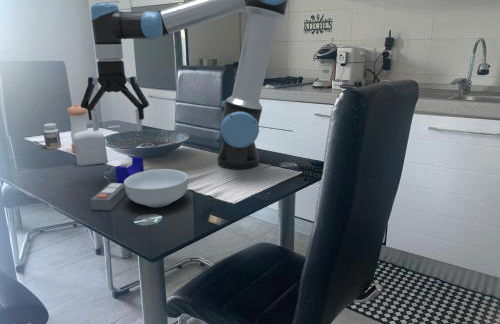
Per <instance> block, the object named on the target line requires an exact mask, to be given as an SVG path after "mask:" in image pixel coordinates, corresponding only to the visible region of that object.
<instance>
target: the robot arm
mask: <svg viewBox="0 0 500 324" xmlns="http://www.w3.org/2000/svg"><path fill="white" fill-rule="evenodd" d="M288 2H289V0H189V1H185V2H183V3H180V4H177V5H173V6H169V7H167V8H164V9H161V10H158V11H150V10H147V11H146V10H145V11H121V10H119V7H118V5H117V4H115V3H93V4H92V5H91V7H90V14H91V15H90V16H91V20H90V21H91V26H92V33H93V40H94V49H95V50H94V51H95V58H96V60H98V61H97V62H96V67H97V74H98V76H97V77H95V76H90V77H88V78H87V87H86V89H85V92H84V95H83V98H82V100H81V104H80V106H81V108H85V109H86V111H87V115H88V120H89V121H91V122H92V123H91V124H92V130H93V131H100V127H99V124H100V123H99V118H98V110H97V108H95V107H96V106H97V104H98V103H99V102H100V101H101V98H102V97H103V96H104V94H105V93H106V92H107V93H112V92H114V93H119V92H120V93H121V94H123V95H124V96H125V97H126V98H127V99H128V100H129V101H130V103H132V105H133V106H134V107H136V109H135V110H134V111H135V121H136V130H137V132H140V131H142V130H143V125H142V121H143V120H144V119H145V113H144V112H145V111H144V109H146V108H147V107H150V104H149V101H148V100H147V98H146V96H145V94H144V93H143V91H142V90H141V88H140V86H139V84H138V80H137V78H136V76H134V75H133V76H130V77H126V72H125V63H124V61H123V58H124V54H123V43H122V40H149V41H154V40H159V39H161V38H162V37H165V36H168V35H170V34H173V33H176V32H180V31H183V30H186V29H189V28H192V27H196V26H199V25H202V24H205V23H208V22H212V21H214V20H218V19H221V18H224V17H229V16H230V15H234V14H238V13H240V12H243V13H245V14H248V18H247V22H246V28H245V31H244V37H243V41H242V45H241V52H240V56H239V61H238V66H237V70H236V76H235V79H234V84H233V89H232V94H231V95H230V96H229V97H227V98H226V99H225V100H222V101H221V103H220V110H221V111H220V113H221V114H220V115H221V118H220V119H221V121H220V126H219V130H220V131H219V132H220V136H221V145H220V148H219V152H218V156H217V165H218V166H219V167H221V168H225V169H230V170H245V169H252V168H255V167H256V166H258V165H260V155H259V152H258V150H257V146H256V143H255V141H256V140H257V138H258V136H259V135H260V134H259V133H260V119H261V116H262V112H263V111H262V110H263V106H262V104H261V102H260V98H261V94H262V89H263V85H264V81H265V77H266V72H267V68H268V64H269V59H270V54H271V51H272V47H273V42H274V38H275V34H276V29H277V25H278V22H279V21H280V20H282V19H283V18H284V17H285V14H286V10H287V6H288ZM127 83H128V84H129V85H130V86H131V88H132V90H133V92H134V93H135V94H136V96H137V97H136V96H135V95H134V94H133V93H132V92H131V91H130V90H129V88H128V87H127V86H126V84H127ZM97 84H99V85H100V87H99V89H98V90H97V92H96V93H95V95H94V97H93V98H92V99H91V97H92V95H93V92H94V89H95V86H96V85H97ZM90 100H91V101H90Z"/></svg>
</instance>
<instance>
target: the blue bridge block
mask: <svg viewBox="0 0 500 324" xmlns="http://www.w3.org/2000/svg"><path fill="white" fill-rule="evenodd" d="M131 160H132V162H131V164H130V165H129V166H121V165H119V166H115V167H114V168H115V176H116V183H124V181H125V179H126V178H128V177H129V176H131V175H133V174H136V173H139V172H143V171H145V166H144V157H143V156H133V157H132V159H131Z"/></svg>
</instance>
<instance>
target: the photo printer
mask: <svg viewBox="0 0 500 324" xmlns="http://www.w3.org/2000/svg"><path fill="white" fill-rule="evenodd" d="M74 145H75V151H76V153H75V157H76V163H77V166H78V167H83V166H91V165H93V166H94V165H99V164H102V165H103V164H107V163H108V162H109V161H108V153H107V147H106V146H107V145H106V140H105V135H104V134H103V131H101V130H97V131H93V129H92V130H91V129H88V130H86V131H81V132H78V133H76V134H75V135H74Z"/></svg>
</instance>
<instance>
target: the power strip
mask: <svg viewBox="0 0 500 324" xmlns="http://www.w3.org/2000/svg"><path fill="white" fill-rule="evenodd" d="M126 196H127V194H126V191H125V187H124V183H117V182H116V183H115V182H114V183H113V182H112V183H111V182H109V183H108V184H107V185H106V186H104V188H102V189H101V190H100V191H98V193H96V194H95V195H94V196H93V197H91V199H90V203H91V210H92V211H112V210H113V209H114V208H115V207H116V206H117V205H118V204H119V203H120V202H121V200H123V199H124V198H125V197H126Z"/></svg>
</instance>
